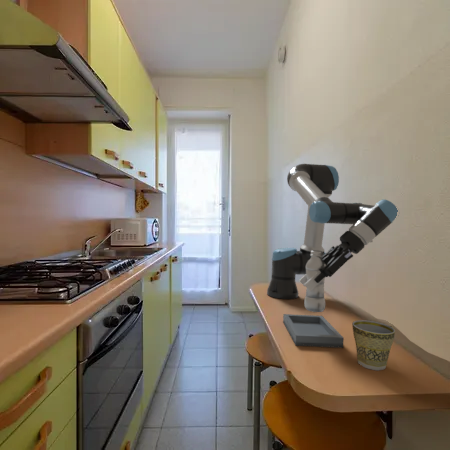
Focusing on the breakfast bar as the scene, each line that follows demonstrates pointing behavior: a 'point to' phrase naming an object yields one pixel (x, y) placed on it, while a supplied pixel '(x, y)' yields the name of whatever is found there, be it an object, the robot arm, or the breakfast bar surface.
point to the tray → (312, 331)
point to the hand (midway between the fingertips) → (304, 285)
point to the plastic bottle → (316, 295)
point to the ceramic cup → (373, 343)
